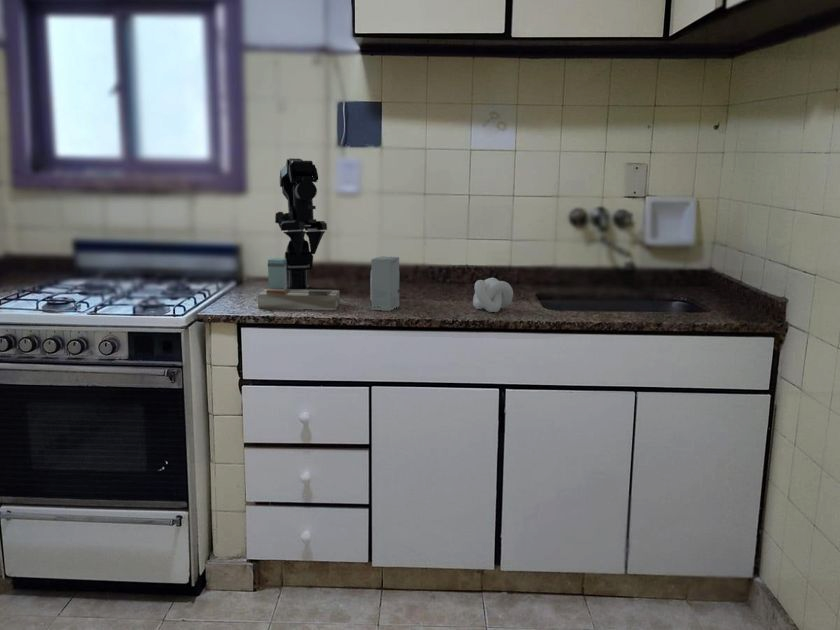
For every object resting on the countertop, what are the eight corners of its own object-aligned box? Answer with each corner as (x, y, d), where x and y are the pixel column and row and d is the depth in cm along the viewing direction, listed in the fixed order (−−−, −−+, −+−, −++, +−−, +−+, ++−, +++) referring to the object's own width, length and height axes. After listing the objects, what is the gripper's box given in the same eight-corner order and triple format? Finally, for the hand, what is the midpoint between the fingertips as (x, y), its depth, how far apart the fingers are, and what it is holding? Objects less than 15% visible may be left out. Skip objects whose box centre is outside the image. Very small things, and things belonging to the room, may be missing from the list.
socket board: (265, 301, 227) (265, 284, 226) (339, 303, 226) (339, 286, 225) (258, 308, 217) (257, 290, 216) (335, 310, 216) (335, 292, 215)
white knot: (510, 306, 226) (511, 276, 224) (514, 314, 214) (516, 283, 213) (472, 305, 226) (473, 276, 224) (474, 314, 214) (475, 282, 213)
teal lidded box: (272, 298, 232) (271, 257, 229) (287, 299, 232) (286, 258, 229) (268, 301, 227) (267, 260, 225) (284, 302, 227) (283, 260, 225)
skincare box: (390, 312, 215) (390, 259, 212) (370, 310, 217) (370, 258, 214) (400, 306, 223) (400, 256, 220) (380, 305, 225) (380, 255, 222)
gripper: (294, 205, 241) (297, 254, 243) (263, 203, 224) (266, 256, 225) (326, 203, 238) (329, 253, 239) (296, 200, 220) (299, 255, 222)
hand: (306, 254), depth 231 cm, fingers open, 9 cm apart
